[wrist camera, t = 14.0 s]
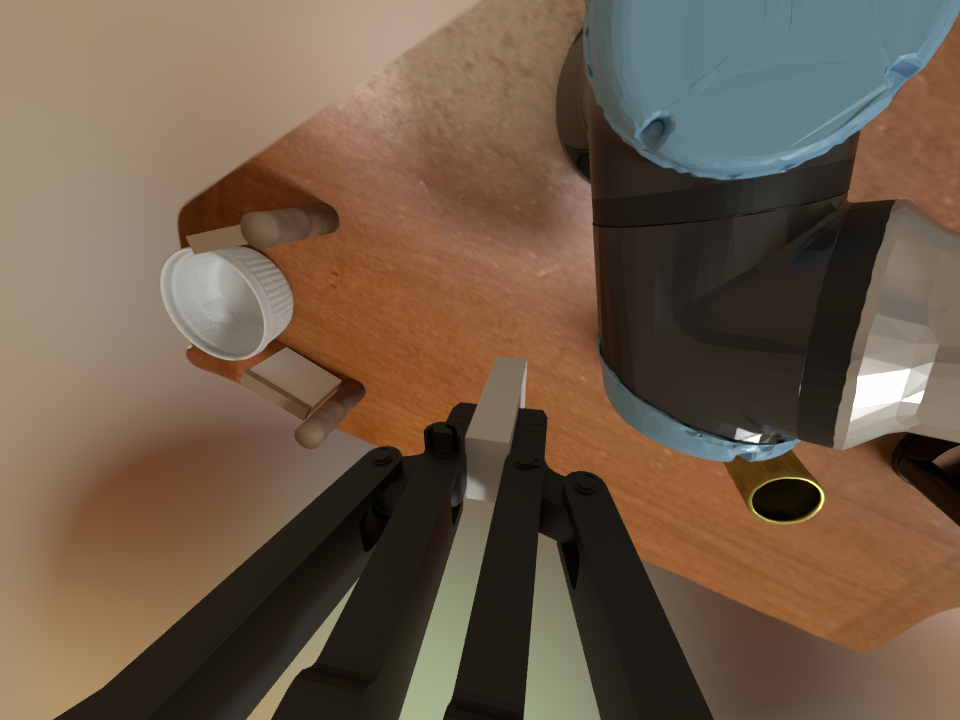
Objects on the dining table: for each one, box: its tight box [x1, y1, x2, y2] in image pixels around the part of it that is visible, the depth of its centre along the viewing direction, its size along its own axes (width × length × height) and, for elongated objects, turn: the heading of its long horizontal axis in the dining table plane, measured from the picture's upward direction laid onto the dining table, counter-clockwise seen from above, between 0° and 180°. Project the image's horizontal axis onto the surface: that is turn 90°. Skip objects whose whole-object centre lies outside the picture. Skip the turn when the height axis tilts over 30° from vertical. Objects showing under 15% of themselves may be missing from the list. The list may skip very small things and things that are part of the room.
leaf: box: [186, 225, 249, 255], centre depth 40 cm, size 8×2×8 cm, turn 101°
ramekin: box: [160, 246, 293, 361], centre depth 46 cm, size 13×13×7 cm
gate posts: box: [240, 204, 365, 449], centre depth 42 cm, size 25×3×11 cm, turn 0°
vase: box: [723, 449, 825, 525], centre depth 36 cm, size 6×6×14 cm
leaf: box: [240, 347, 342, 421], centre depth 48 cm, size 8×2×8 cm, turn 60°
